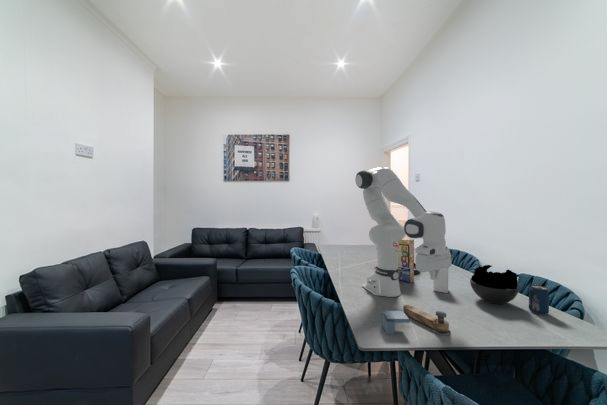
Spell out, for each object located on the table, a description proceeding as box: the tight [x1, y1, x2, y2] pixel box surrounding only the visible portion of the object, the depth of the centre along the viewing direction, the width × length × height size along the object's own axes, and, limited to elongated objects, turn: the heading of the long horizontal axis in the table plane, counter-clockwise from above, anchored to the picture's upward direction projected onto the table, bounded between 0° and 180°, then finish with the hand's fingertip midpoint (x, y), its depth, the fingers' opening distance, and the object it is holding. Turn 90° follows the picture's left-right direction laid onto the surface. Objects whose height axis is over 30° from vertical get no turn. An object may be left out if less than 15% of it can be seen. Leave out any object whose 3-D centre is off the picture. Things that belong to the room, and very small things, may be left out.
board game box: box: [393, 237, 415, 283], centre depth 167 cm, size 20×6×27 cm, turn 46°
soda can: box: [528, 284, 550, 316], centre depth 118 cm, size 7×7×12 cm
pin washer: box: [430, 327, 452, 336], centre depth 102 cm, size 7×7×1 cm
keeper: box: [381, 310, 410, 335], centre depth 102 cm, size 8×7×6 cm
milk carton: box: [433, 267, 449, 294], centre depth 146 cm, size 7×7×19 cm
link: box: [402, 304, 450, 333], centre depth 108 cm, size 21×6×7 cm, turn 28°
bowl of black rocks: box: [469, 264, 520, 305], centre depth 129 cm, size 20×20×19 cm
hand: (434, 279), depth 112 cm, fingers closed
